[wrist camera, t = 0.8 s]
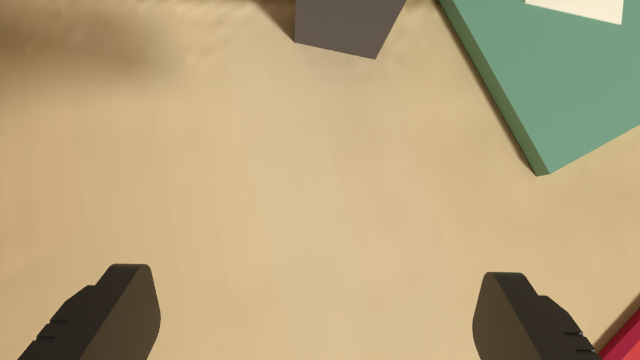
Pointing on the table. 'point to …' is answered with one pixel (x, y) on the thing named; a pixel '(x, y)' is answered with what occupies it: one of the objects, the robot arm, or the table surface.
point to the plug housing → (346, 24)
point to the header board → (556, 70)
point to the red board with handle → (624, 342)
